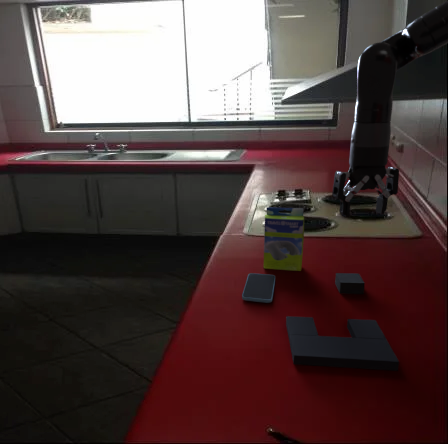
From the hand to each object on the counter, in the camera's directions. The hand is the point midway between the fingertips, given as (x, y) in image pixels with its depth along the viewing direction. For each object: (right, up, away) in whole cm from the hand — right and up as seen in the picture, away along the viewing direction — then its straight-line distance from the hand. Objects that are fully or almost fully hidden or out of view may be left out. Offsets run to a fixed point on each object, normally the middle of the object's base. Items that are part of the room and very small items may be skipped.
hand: (362, 214), depth 95 cm
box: (-11, -15, +24) cm, 30 cm away
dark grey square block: (+1, -18, +10) cm, 21 cm away
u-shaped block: (-11, -26, -12) cm, 31 cm away
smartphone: (-21, -19, +12) cm, 31 cm away
